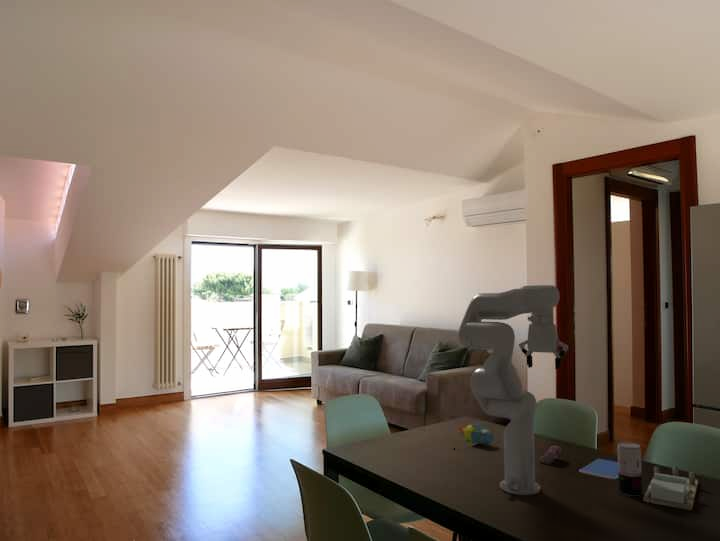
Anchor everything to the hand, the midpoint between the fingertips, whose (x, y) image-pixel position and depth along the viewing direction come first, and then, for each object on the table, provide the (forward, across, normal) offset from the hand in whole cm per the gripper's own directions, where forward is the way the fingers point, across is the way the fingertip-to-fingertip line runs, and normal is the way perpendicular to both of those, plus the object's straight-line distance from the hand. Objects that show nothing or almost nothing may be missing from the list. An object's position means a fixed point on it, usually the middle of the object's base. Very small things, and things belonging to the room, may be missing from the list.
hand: (543, 368), depth 194 cm
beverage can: (+36, +28, -9) cm, 47 cm away
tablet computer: (+37, +18, +12) cm, 43 cm away
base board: (+36, +39, -1) cm, 53 cm away
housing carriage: (+35, +39, -9) cm, 53 cm away
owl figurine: (+37, -34, +19) cm, 54 cm away
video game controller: (+36, -1, +12) cm, 38 cm away
